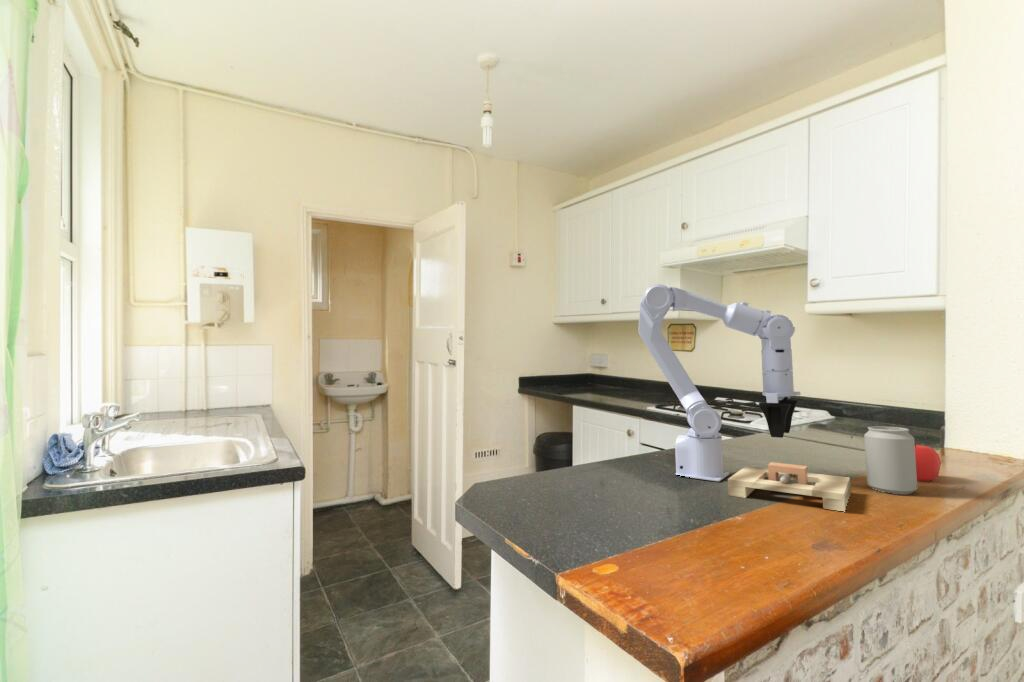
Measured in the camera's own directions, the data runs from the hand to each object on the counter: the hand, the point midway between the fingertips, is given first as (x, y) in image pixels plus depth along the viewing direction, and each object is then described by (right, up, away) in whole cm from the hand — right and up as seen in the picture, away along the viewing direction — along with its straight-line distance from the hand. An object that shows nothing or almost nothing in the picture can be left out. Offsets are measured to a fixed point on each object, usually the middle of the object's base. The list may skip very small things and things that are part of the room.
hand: (780, 434), depth 100 cm
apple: (+27, -9, -2) cm, 29 cm away
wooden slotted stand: (-5, -9, -12) cm, 16 cm away
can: (+15, -9, -10) cm, 20 cm away
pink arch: (-5, -8, -12) cm, 15 cm away
